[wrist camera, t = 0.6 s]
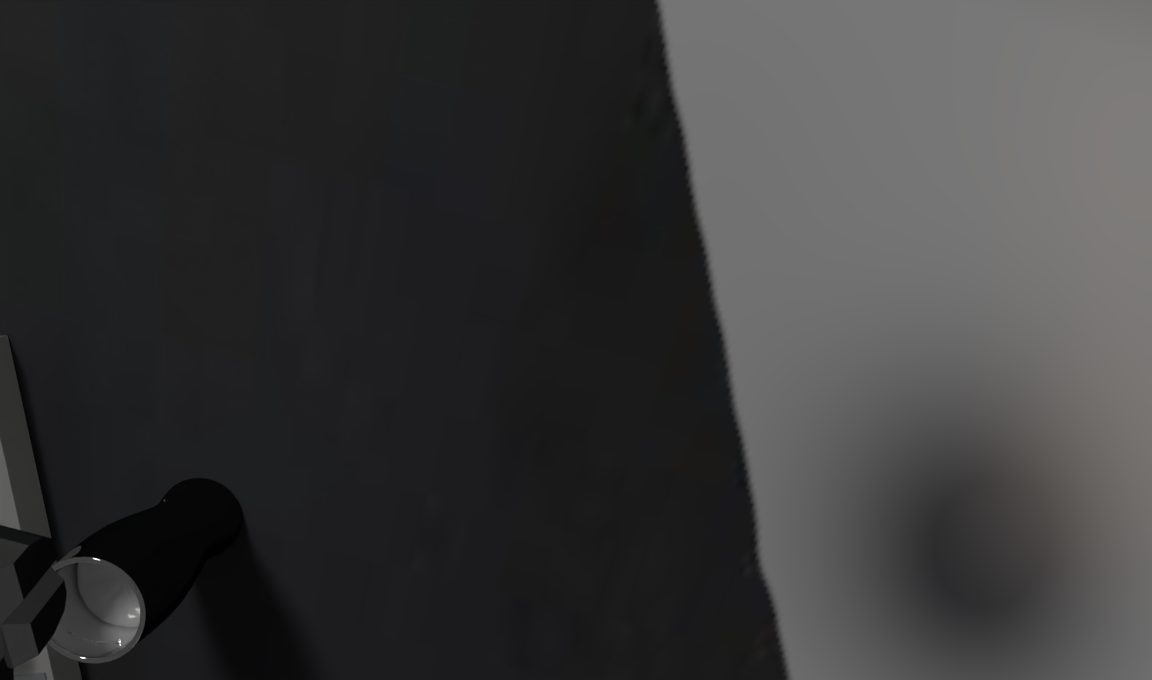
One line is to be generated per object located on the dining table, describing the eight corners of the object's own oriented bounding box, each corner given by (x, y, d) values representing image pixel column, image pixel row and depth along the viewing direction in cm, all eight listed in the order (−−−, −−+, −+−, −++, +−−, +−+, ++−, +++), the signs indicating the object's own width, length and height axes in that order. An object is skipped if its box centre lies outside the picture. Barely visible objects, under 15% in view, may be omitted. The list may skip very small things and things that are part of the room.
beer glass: (260, 490, 64) (163, 578, 49) (232, 573, 65) (129, 683, 50) (170, 458, 64) (45, 536, 49) (143, 542, 65) (13, 643, 50)
